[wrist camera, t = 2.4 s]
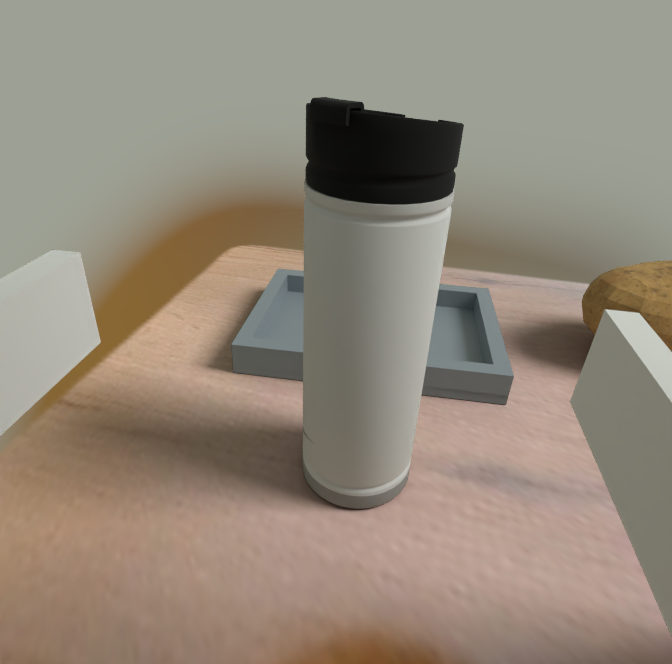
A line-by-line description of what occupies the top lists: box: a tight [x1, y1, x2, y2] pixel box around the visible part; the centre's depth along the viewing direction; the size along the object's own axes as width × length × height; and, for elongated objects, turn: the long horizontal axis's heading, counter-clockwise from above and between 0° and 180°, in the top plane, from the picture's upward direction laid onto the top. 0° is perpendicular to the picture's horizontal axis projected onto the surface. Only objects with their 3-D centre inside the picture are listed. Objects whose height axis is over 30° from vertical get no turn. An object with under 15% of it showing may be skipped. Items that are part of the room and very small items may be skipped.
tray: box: [231, 269, 514, 405], centre depth 41 cm, size 20×14×2 cm
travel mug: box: [303, 97, 464, 509], centre depth 24 cm, size 6×7×20 cm
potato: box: [582, 261, 672, 352], centre depth 39 cm, size 10×14×8 cm
